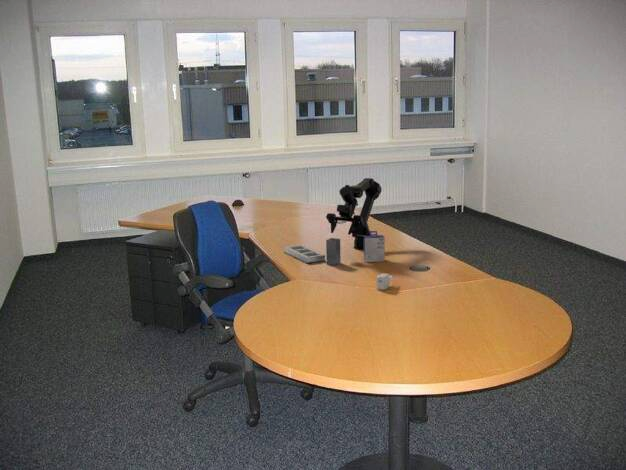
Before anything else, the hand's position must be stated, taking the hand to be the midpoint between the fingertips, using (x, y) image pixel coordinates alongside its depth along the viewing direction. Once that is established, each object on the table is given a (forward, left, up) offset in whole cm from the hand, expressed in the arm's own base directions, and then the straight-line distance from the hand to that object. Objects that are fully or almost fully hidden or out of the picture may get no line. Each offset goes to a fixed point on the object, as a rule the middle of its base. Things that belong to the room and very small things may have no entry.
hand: (340, 233), depth 297 cm
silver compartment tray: (+12, -15, -13) cm, 24 cm away
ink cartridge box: (-13, +10, -13) cm, 21 cm away
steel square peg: (+6, +4, -13) cm, 15 cm away
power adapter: (+6, +48, -13) cm, 50 cm away
